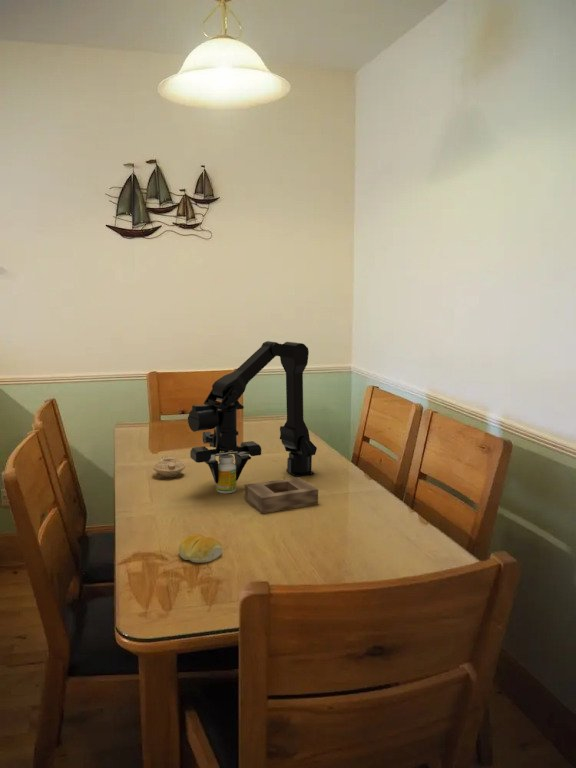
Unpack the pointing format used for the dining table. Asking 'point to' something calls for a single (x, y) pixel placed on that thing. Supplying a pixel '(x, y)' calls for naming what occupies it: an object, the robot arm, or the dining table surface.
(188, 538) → the bread roll
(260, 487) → the walnut holder
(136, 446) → the dining table surface
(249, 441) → the robot arm
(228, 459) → the supplement bottle
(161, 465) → the pottery oil lamp
